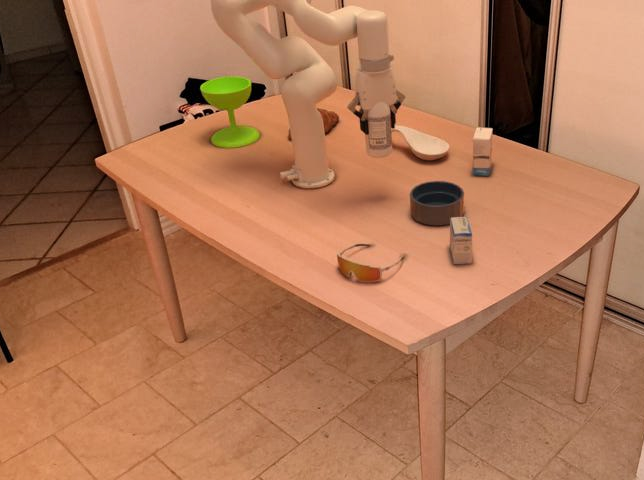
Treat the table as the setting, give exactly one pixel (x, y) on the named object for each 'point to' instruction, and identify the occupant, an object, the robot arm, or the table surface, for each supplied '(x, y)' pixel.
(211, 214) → the table surface
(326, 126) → the pastry
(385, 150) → the bath foam
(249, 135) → the wineglass
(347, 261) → the sunglasses
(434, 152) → the spoon rest
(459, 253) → the medicine box
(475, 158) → the ink box
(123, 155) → the table surface
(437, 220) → the bowl
